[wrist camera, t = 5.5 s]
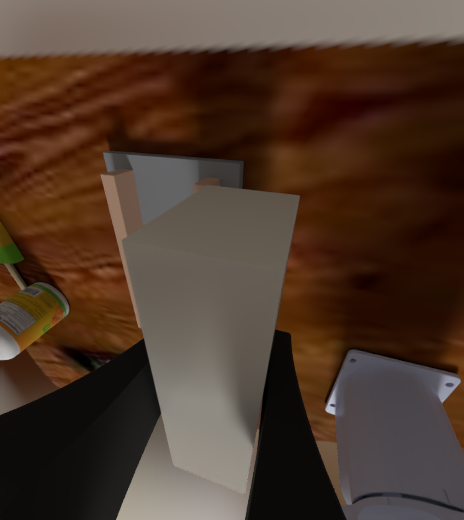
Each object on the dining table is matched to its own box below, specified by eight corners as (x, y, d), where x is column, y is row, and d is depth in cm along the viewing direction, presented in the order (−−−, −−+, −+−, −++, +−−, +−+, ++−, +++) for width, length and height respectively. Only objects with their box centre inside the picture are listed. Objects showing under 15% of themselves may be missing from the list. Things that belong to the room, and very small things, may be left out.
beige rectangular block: (264, 389, 15) (244, 494, 11) (210, 373, 16) (173, 465, 11) (299, 195, 9) (284, 270, 4) (207, 185, 9) (121, 240, 5)
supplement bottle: (61, 319, 33) (-22, 385, 25) (28, 290, 31) (-70, 350, 23) (77, 306, 30) (-10, 376, 22) (43, 274, 28) (-64, 335, 20)
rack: (235, 333, 24) (226, 358, 21) (147, 311, 26) (129, 331, 24) (243, 161, 16) (230, 169, 13) (112, 150, 18) (80, 156, 15)
